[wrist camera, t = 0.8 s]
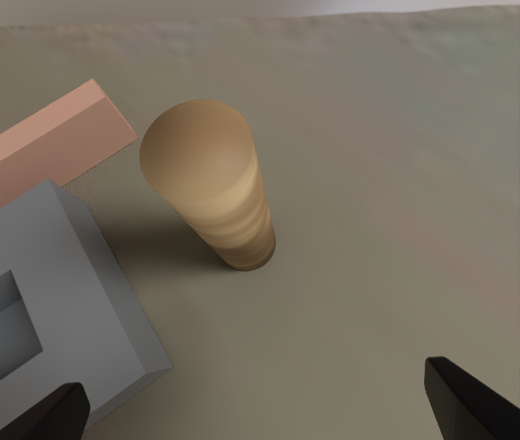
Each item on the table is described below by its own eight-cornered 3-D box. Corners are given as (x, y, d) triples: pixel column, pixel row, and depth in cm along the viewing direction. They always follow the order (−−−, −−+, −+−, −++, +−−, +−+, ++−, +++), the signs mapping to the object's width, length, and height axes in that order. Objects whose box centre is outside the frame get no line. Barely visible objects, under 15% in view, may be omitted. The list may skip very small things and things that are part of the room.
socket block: (173, 366, 21) (146, 373, 17) (-30, 514, 20) (-108, 556, 16) (84, 201, 26) (47, 178, 22) (-85, 311, 24) (-156, 306, 20)
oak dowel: (267, 277, 22) (233, 212, 11) (211, 263, 23) (122, 187, 11) (281, 222, 24) (265, 108, 12) (228, 210, 24) (162, 92, 13)
